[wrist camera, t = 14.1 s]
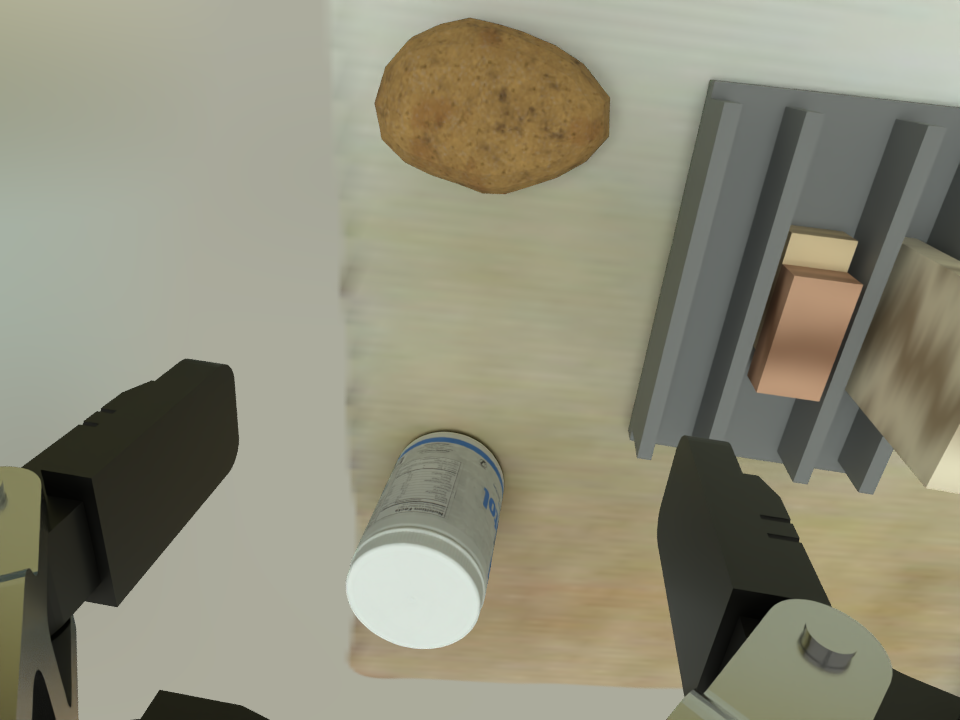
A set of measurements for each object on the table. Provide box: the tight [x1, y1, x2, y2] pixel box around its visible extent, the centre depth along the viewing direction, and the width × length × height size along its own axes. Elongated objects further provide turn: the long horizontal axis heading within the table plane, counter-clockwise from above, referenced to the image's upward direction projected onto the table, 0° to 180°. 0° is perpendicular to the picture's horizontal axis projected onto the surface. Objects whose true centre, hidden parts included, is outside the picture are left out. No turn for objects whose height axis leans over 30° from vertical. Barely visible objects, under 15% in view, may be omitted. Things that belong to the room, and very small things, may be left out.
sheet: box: [845, 237, 960, 494], centre depth 38 cm, size 10×2×14 cm, turn 172°
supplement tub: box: [346, 432, 504, 649], centre depth 49 cm, size 10×10×15 cm
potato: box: [375, 18, 610, 194], centre depth 39 cm, size 10×14×8 cm
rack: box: [628, 80, 960, 494], centre depth 43 cm, size 26×16×6 cm, turn 174°
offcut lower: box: [753, 225, 858, 349], centre depth 43 cm, size 8×4×2 cm, turn 174°
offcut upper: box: [747, 264, 863, 401], centre depth 41 cm, size 8×4×2 cm, turn 174°
